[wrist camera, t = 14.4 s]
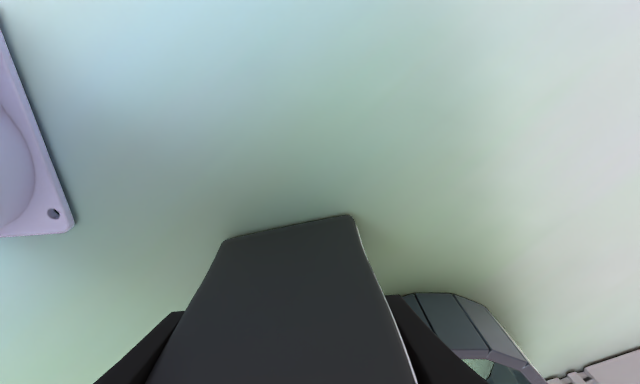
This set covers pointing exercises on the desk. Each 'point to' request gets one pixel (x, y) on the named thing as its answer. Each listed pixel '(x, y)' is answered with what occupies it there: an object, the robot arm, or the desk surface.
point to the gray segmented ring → (474, 335)
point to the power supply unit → (607, 372)
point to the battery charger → (288, 314)
